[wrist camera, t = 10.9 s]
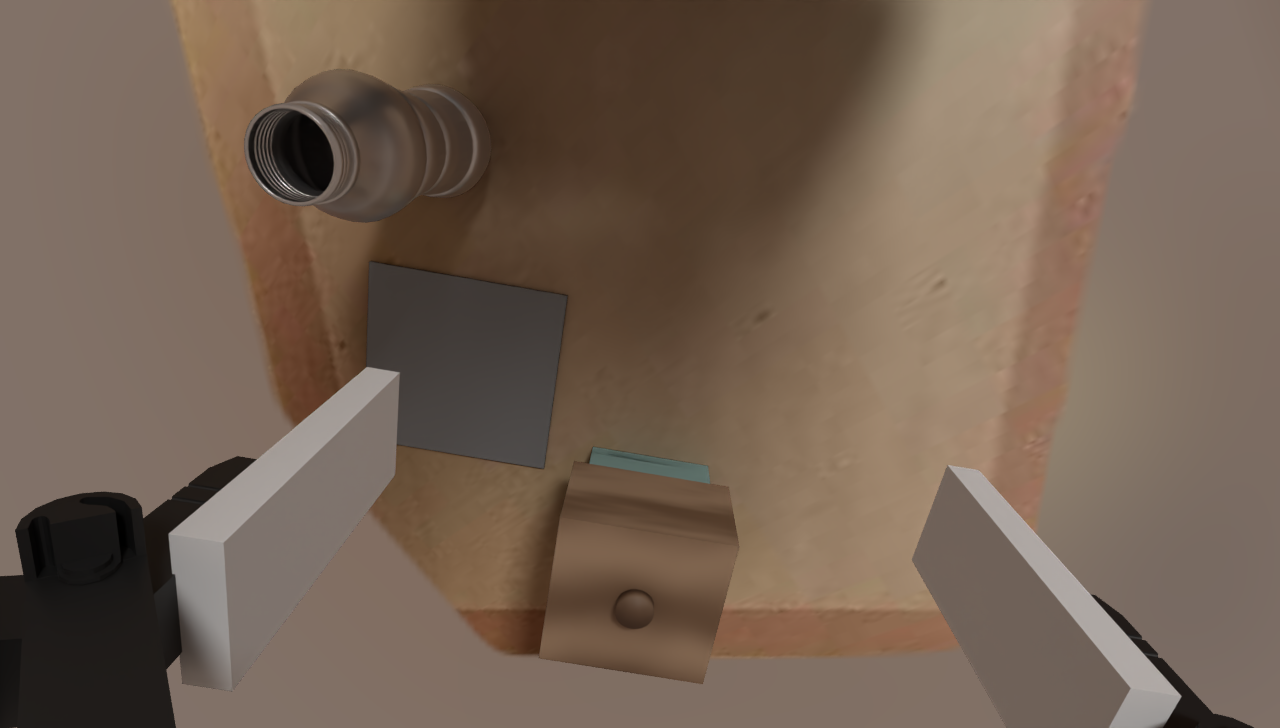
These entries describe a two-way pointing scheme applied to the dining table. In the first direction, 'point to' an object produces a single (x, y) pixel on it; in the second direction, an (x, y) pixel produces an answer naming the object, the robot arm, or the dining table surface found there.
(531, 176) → the dining table surface
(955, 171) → the dining table surface
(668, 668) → the lid
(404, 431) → the mat
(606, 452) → the open square box
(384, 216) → the plastic bottle
